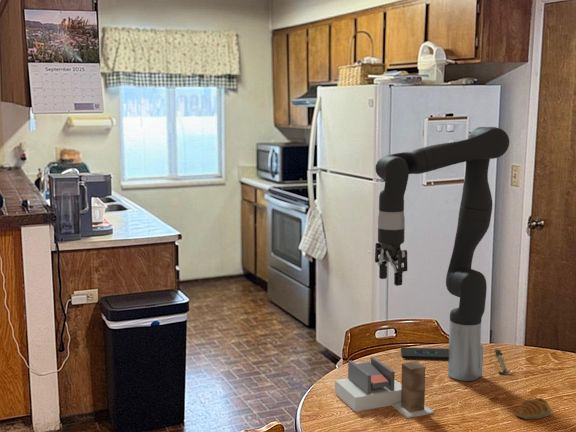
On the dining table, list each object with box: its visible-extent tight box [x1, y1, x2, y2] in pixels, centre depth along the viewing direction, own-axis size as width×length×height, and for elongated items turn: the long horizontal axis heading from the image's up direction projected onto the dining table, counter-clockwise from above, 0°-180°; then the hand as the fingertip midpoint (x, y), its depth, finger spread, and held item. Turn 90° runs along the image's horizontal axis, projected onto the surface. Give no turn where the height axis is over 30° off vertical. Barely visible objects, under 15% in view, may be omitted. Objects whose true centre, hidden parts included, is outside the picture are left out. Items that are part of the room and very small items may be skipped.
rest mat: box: [391, 403, 435, 419], centre depth 186 cm, size 8×8×1 cm
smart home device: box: [400, 346, 449, 361], centre depth 227 cm, size 8×2×20 cm
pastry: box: [515, 397, 552, 420], centre depth 183 cm, size 9×7×4 cm
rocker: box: [356, 361, 389, 389], centre depth 193 cm, size 5×12×1 cm, turn 21°
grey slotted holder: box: [334, 356, 402, 412], centre depth 193 cm, size 16×13×9 cm
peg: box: [401, 360, 426, 412], centre depth 185 cm, size 4×4×12 cm
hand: (390, 281), depth 199 cm, fingers open, 8 cm apart
